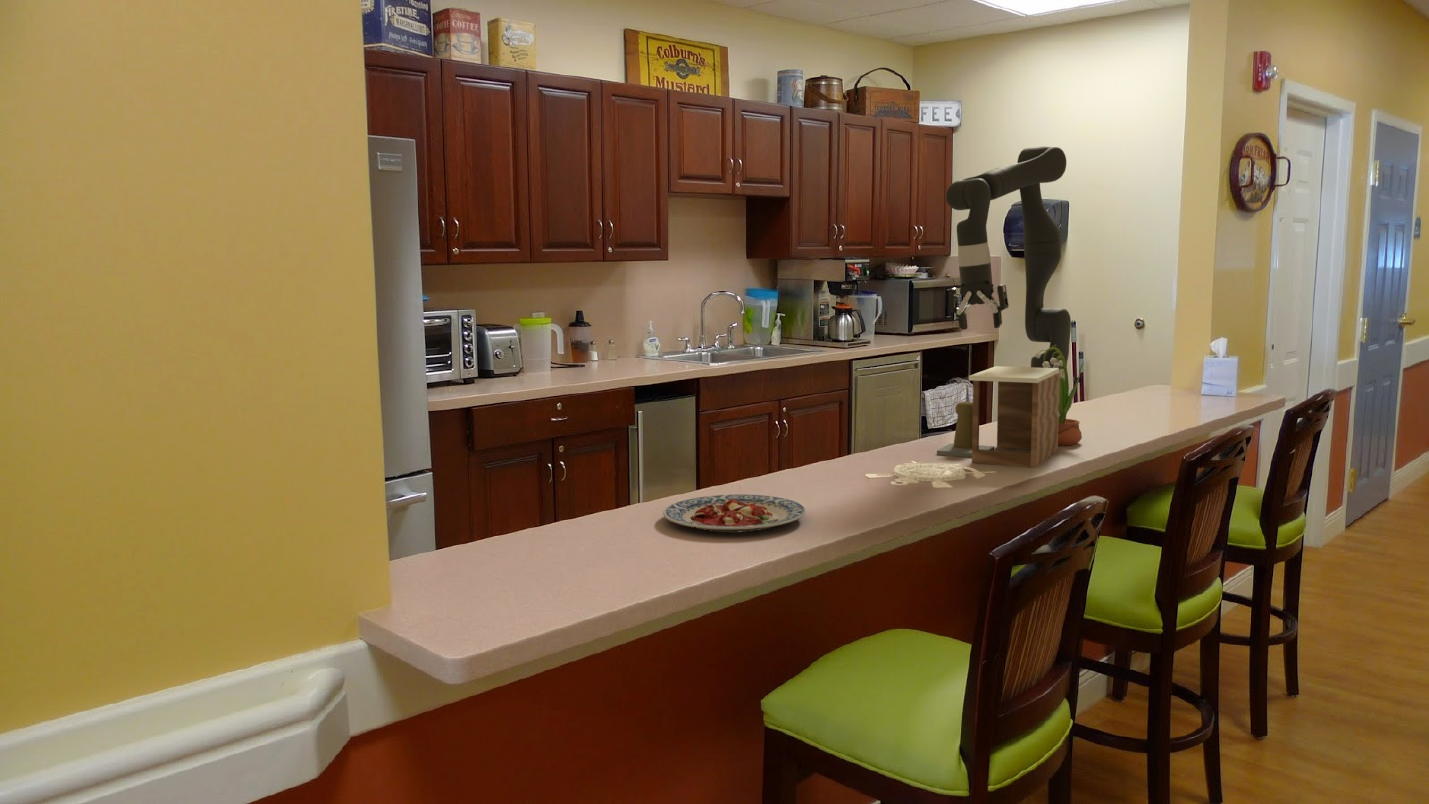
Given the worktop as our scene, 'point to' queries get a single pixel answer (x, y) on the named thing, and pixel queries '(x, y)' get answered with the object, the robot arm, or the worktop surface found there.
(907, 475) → the pendant
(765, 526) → the ceramic plate
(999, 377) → the wooden cabinet
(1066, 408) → the potted flower
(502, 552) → the worktop surface
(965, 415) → the cork
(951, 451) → the slate mat
